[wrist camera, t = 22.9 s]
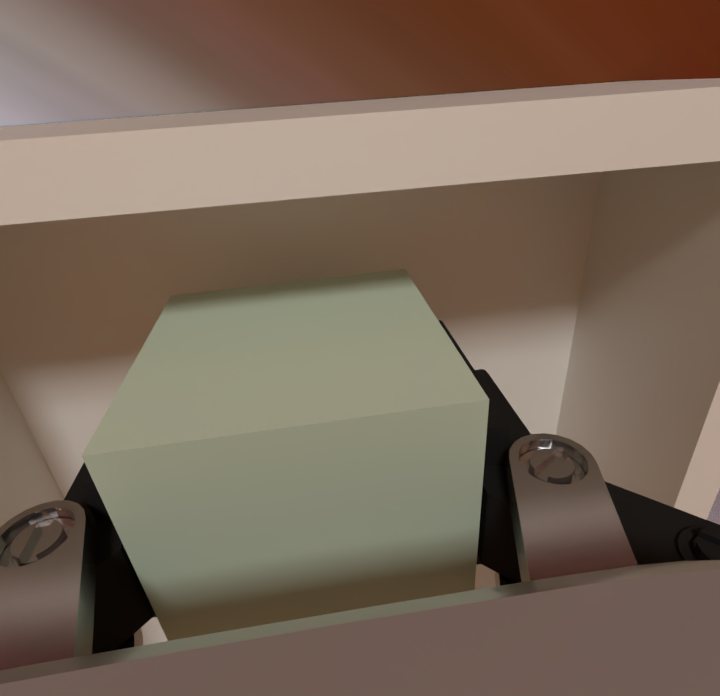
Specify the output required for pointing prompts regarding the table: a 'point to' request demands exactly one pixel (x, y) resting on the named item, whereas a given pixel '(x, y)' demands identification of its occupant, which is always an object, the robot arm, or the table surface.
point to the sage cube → (294, 454)
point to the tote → (387, 258)
